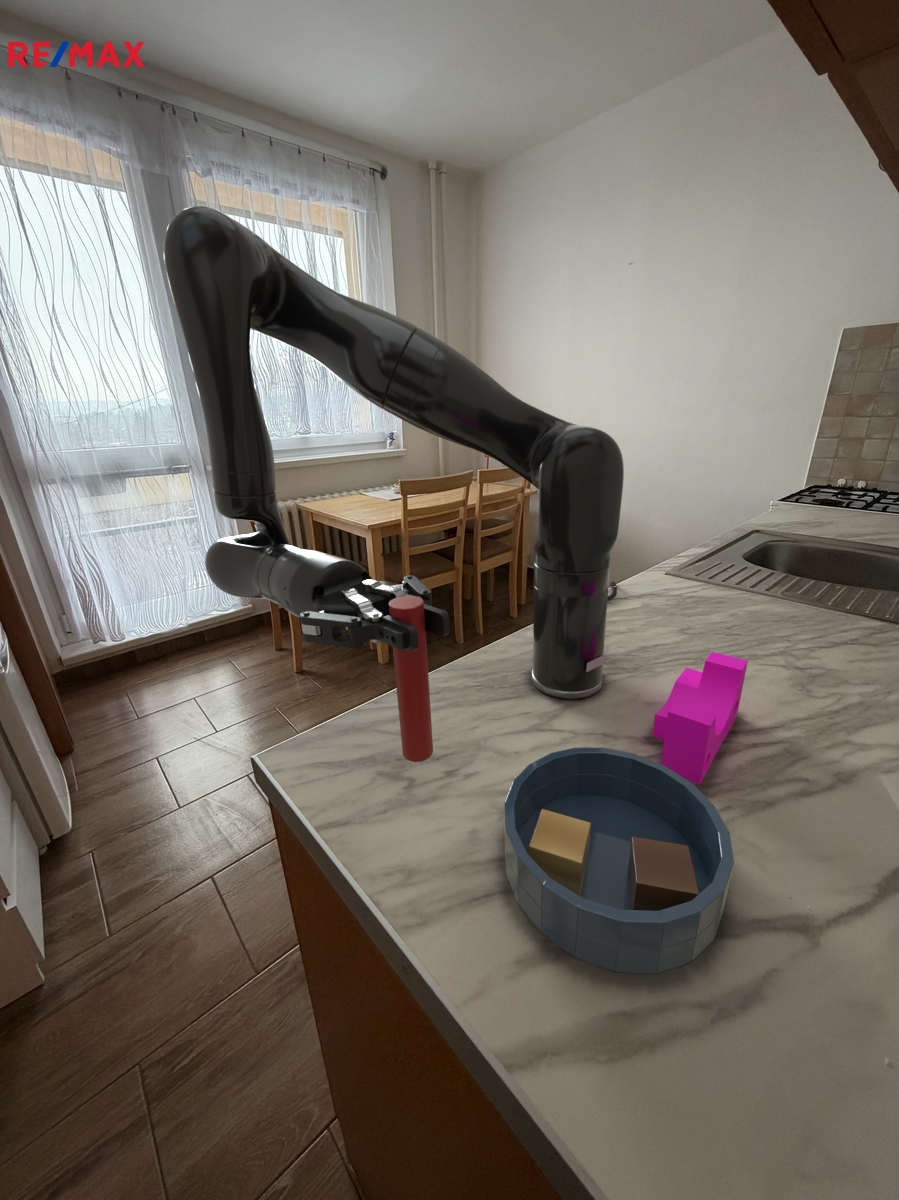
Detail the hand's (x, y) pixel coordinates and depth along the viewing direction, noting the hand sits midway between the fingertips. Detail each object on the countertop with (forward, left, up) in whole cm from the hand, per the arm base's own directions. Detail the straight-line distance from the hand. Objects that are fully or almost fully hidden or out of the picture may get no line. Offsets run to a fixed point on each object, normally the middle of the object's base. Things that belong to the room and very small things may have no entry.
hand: (430, 632), depth 40 cm
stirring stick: (-1, -3, -14) cm, 14 cm away
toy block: (-18, +22, -19) cm, 34 cm away
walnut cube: (+4, +19, -18) cm, 27 cm away
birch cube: (+4, +12, -18) cm, 22 cm away
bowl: (+2, +15, -19) cm, 24 cm away
